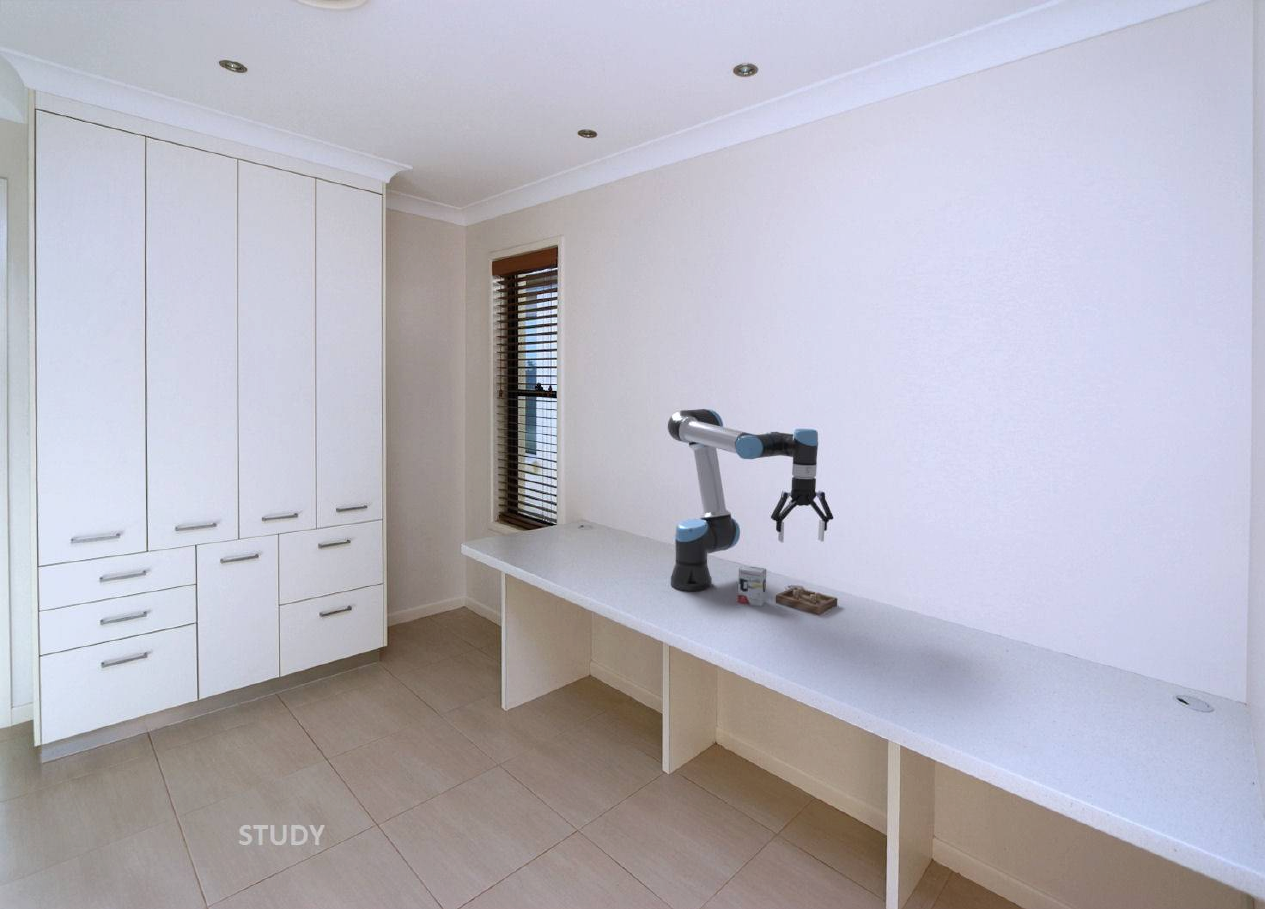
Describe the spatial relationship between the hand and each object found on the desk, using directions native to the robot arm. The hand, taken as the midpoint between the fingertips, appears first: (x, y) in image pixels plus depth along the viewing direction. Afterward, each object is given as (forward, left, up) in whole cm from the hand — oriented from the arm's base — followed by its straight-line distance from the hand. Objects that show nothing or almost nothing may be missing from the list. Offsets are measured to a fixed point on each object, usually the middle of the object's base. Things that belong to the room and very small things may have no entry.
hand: (800, 540), depth 202 cm
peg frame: (0, +4, -22) cm, 23 cm away
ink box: (-14, -8, -23) cm, 27 cm away
